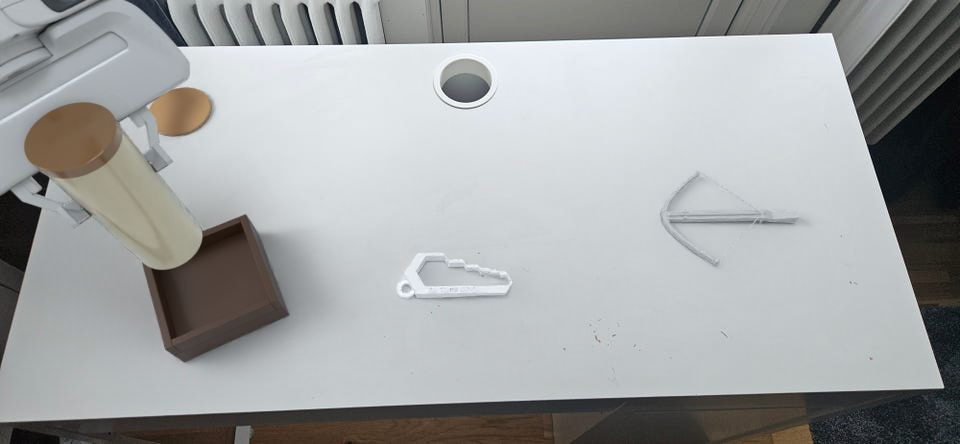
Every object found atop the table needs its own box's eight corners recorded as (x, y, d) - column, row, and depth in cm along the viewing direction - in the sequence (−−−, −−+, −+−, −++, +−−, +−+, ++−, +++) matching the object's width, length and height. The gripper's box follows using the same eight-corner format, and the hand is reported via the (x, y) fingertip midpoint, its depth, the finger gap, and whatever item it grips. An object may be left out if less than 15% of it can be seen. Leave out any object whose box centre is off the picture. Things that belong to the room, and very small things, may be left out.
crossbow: (667, 268, 70) (671, 261, 68) (652, 178, 76) (656, 169, 74) (806, 266, 69) (814, 259, 67) (780, 176, 75) (786, 166, 73)
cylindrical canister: (144, 281, 53) (29, 183, 39) (130, 228, 55) (17, 119, 41) (211, 254, 54) (123, 151, 40) (194, 204, 57) (107, 90, 43)
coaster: (156, 144, 76) (155, 143, 76) (143, 101, 79) (141, 99, 79) (218, 122, 78) (217, 121, 78) (202, 81, 81) (201, 79, 81)
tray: (184, 362, 63) (164, 349, 59) (158, 272, 67) (139, 255, 64) (289, 315, 65) (278, 300, 61) (258, 232, 70) (245, 213, 66)
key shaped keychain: (510, 257, 69) (511, 251, 68) (512, 297, 67) (513, 291, 65) (398, 259, 69) (397, 252, 67) (396, 299, 66) (395, 293, 65)
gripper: (-204, 116, 35) (-12, 288, 40) (113, -43, 42) (239, 119, 48) (-163, 122, 40) (2, 273, 46) (113, -20, 48) (226, 124, 53)
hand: (126, 193), depth 47 cm, fingers closed on cylindrical canister, 6 cm apart
